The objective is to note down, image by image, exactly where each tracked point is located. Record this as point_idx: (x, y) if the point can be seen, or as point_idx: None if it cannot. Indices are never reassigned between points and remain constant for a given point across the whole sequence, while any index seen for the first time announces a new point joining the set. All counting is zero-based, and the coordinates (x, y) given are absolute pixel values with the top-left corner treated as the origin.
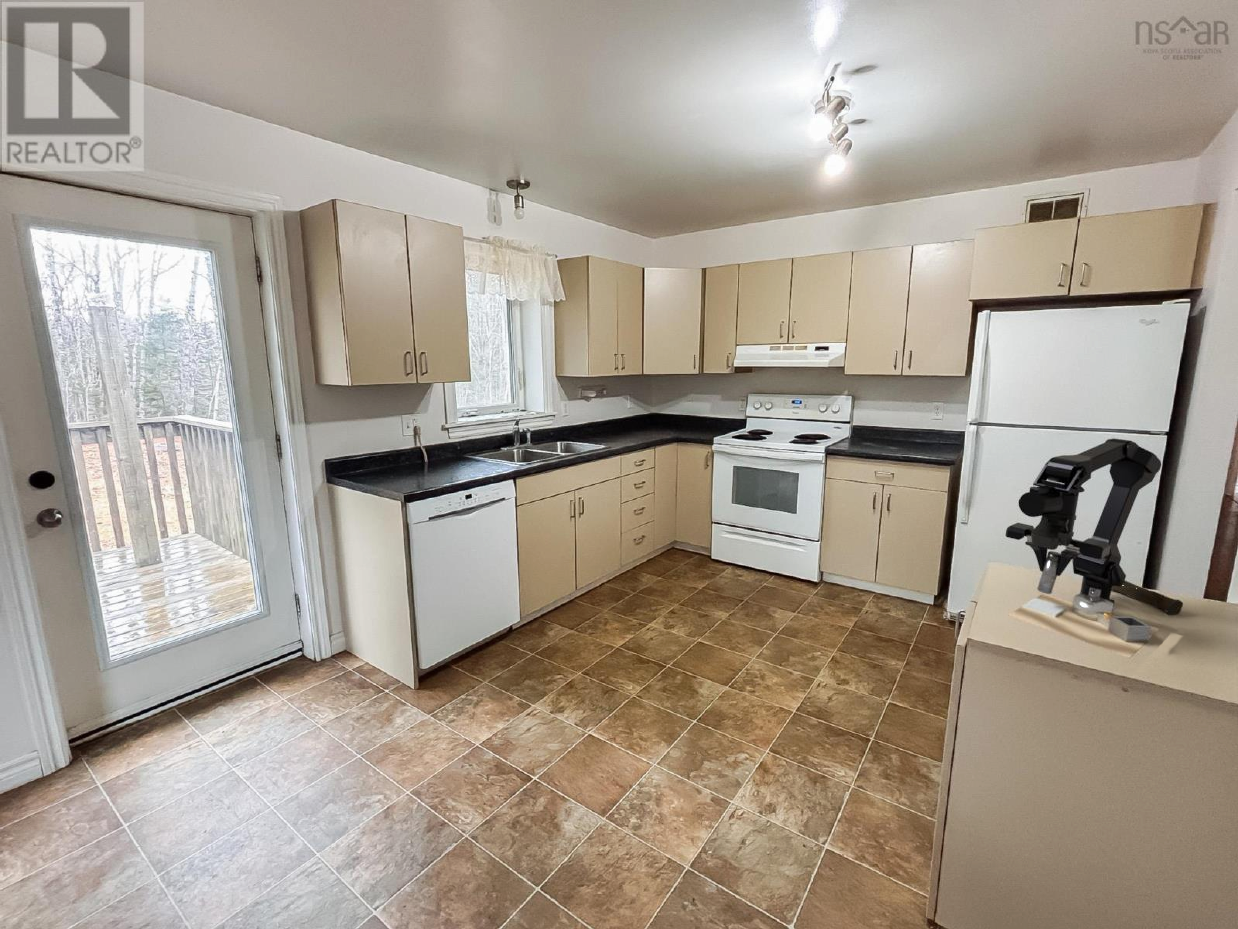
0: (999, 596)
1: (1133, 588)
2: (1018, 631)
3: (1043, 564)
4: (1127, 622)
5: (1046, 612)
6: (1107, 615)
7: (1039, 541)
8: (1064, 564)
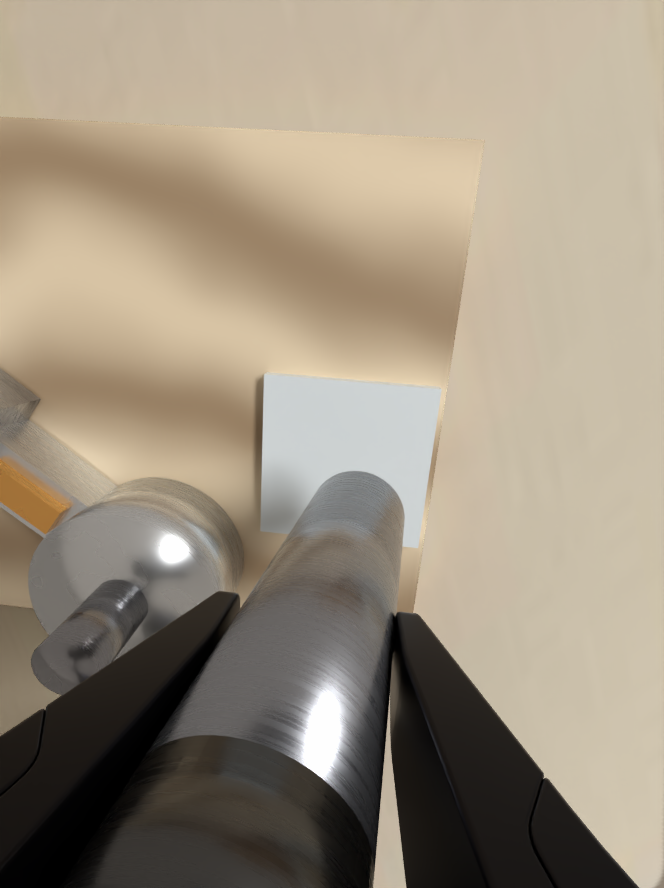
0: (586, 516)
1: None
2: (380, 44)
3: (404, 703)
4: None
5: (312, 378)
6: (34, 492)
7: None
8: (26, 721)
